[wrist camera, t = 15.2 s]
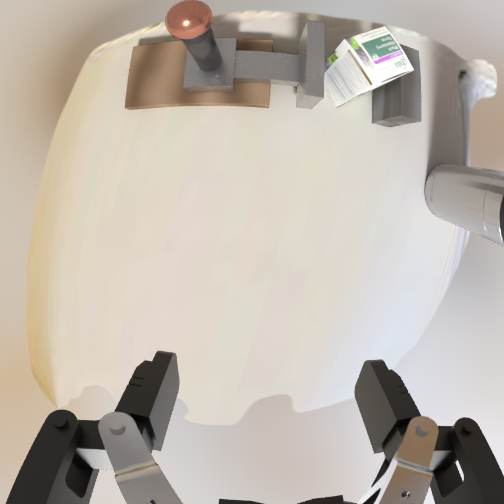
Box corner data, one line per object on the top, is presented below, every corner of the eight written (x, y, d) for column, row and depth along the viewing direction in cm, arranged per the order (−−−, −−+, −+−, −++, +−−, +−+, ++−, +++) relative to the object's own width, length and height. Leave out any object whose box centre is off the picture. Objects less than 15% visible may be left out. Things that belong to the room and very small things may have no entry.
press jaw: (313, 44, 29) (347, -20, 13) (311, 109, 32) (352, 72, 16) (195, 38, 29) (158, -26, 13) (187, 102, 32) (138, 64, 16)
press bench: (389, 67, 31) (418, 51, 23) (389, 127, 35) (421, 121, 26) (138, 50, 31) (112, 30, 23) (130, 109, 34) (100, 99, 26)
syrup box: (344, 61, 32) (384, 21, 18) (366, 94, 33) (416, 69, 19) (313, 75, 33) (342, 35, 19) (336, 109, 34) (377, 86, 20)
